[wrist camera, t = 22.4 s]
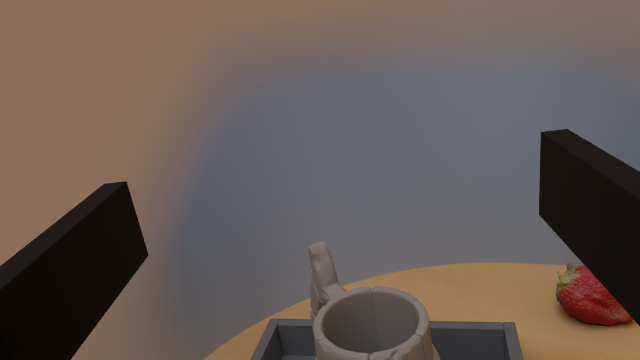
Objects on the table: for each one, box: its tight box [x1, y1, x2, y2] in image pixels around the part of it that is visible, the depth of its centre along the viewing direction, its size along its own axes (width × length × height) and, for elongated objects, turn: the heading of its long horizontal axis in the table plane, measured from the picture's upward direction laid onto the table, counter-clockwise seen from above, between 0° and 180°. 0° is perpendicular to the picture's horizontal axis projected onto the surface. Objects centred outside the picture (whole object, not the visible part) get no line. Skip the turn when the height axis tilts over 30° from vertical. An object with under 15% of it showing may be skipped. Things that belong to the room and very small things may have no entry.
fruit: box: [556, 261, 633, 325], centre depth 38 cm, size 4×6×5 cm
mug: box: [308, 241, 441, 360], centre depth 29 cm, size 8×12×12 cm, turn 27°
